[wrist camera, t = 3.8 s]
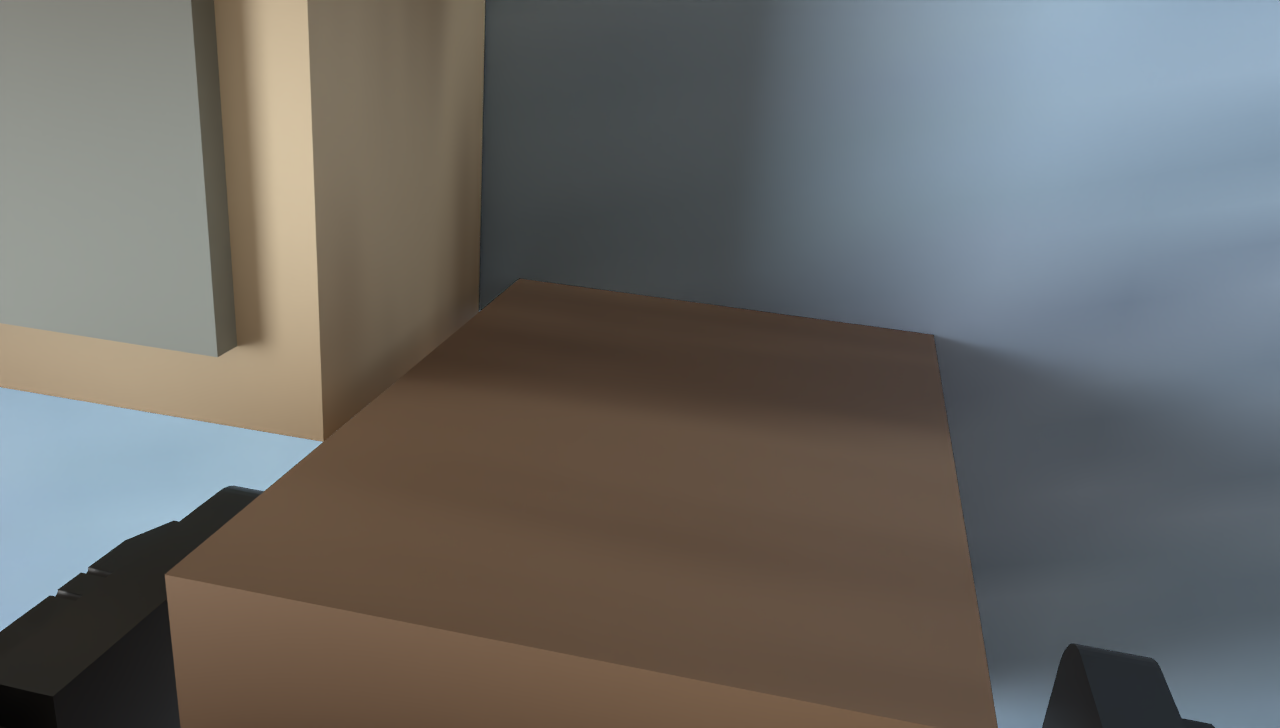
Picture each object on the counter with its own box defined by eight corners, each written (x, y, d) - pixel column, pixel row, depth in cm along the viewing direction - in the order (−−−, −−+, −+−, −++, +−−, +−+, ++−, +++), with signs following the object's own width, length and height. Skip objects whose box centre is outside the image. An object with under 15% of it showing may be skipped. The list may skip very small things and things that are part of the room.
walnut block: (519, 278, 13) (164, 574, 6) (933, 334, 12) (1000, 741, 6) (508, 618, 15) (221, 1115, 8) (866, 688, 14) (859, 1304, 7)
